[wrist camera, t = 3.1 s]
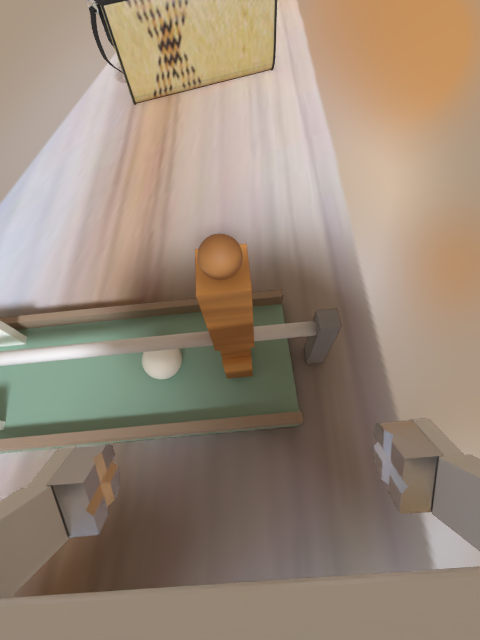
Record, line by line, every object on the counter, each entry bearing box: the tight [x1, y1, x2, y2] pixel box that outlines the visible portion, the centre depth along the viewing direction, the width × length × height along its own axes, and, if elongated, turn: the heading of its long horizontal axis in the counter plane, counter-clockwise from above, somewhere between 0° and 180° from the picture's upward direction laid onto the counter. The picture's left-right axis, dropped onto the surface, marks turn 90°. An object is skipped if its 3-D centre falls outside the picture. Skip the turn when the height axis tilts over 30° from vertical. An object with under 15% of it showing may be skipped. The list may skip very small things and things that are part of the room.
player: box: [195, 234, 255, 379], centre depth 23 cm, size 4×3×16 cm
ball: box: [142, 349, 182, 380], centre depth 29 cm, size 4×4×4 cm
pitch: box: [0, 290, 341, 453], centre depth 28 cm, size 13×38×8 cm, turn 95°
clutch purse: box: [87, 0, 277, 104], centre depth 50 cm, size 30×7×15 cm, turn 109°
